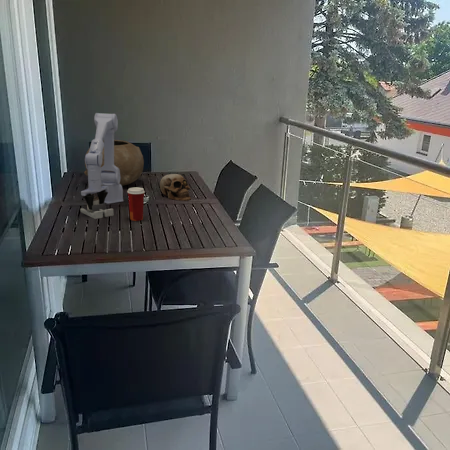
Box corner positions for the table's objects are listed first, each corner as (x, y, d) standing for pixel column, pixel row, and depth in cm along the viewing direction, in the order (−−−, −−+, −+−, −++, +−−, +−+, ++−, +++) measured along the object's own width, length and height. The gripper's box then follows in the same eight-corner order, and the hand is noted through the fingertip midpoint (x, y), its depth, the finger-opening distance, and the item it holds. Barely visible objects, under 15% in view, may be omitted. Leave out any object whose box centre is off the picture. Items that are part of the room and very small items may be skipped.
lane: (98, 208, 217) (98, 202, 216) (113, 215, 208) (113, 209, 207) (80, 211, 211) (80, 205, 210) (94, 219, 201) (94, 212, 200)
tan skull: (190, 201, 237) (187, 175, 233) (157, 202, 238) (155, 177, 235) (193, 194, 252) (191, 171, 248) (163, 196, 253) (160, 172, 250)
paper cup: (148, 218, 206) (147, 188, 202) (139, 222, 199) (139, 191, 195) (133, 215, 208) (132, 186, 204) (124, 220, 202) (123, 189, 197)
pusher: (105, 212, 210) (104, 203, 209) (113, 216, 205) (113, 206, 204) (92, 215, 206) (92, 205, 204) (100, 219, 201) (100, 209, 199)
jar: (97, 210, 214) (96, 195, 212) (101, 213, 210) (100, 198, 208) (85, 211, 211) (84, 196, 209) (89, 214, 207) (89, 199, 205)
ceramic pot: (117, 175, 289) (116, 136, 281) (155, 184, 270) (155, 142, 263) (74, 183, 263) (71, 140, 255) (112, 194, 244) (110, 147, 237)
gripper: (100, 175, 212) (102, 203, 217) (75, 180, 201) (77, 209, 205) (111, 177, 209) (112, 206, 213) (86, 182, 197) (88, 212, 201)
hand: (96, 208), depth 209 cm, fingers open, 6 cm apart
